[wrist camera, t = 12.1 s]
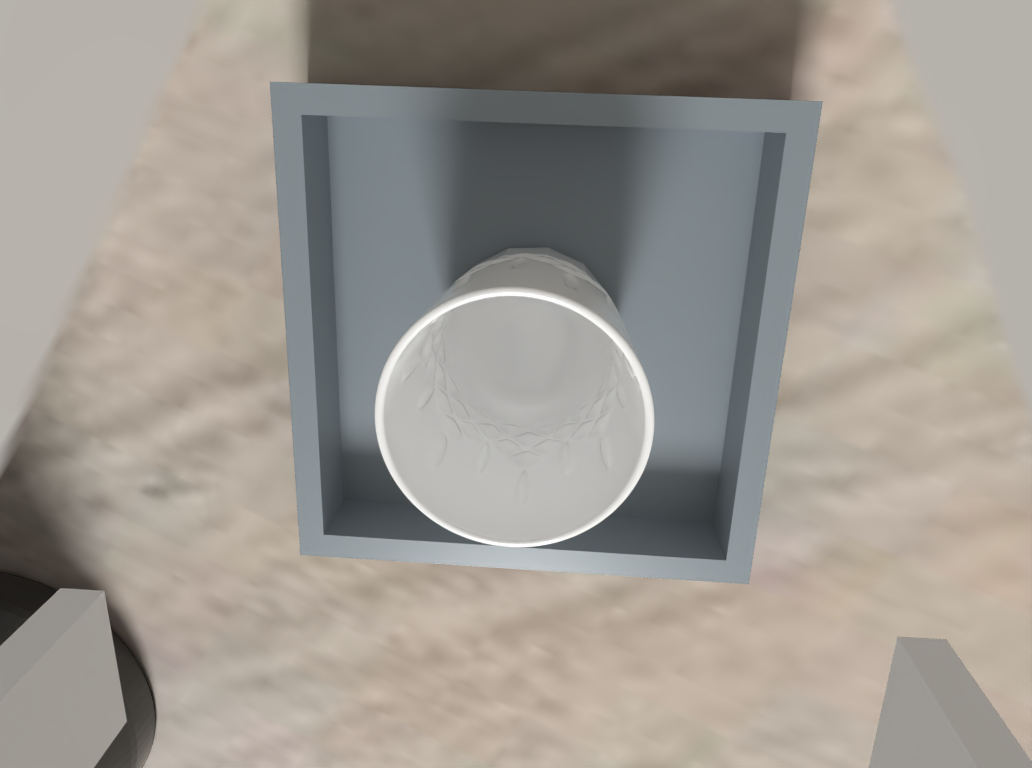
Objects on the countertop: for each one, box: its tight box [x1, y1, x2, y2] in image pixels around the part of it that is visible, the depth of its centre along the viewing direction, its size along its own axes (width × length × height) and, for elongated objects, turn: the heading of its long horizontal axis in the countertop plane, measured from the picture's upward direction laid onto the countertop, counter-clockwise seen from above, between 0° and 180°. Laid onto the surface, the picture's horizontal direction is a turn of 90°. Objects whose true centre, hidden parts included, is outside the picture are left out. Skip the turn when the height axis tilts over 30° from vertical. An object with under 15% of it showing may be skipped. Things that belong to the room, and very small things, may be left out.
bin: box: [270, 82, 823, 584], centre depth 31 cm, size 18×18×4 cm
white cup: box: [375, 247, 654, 547], centre depth 27 cm, size 8×8×10 cm
